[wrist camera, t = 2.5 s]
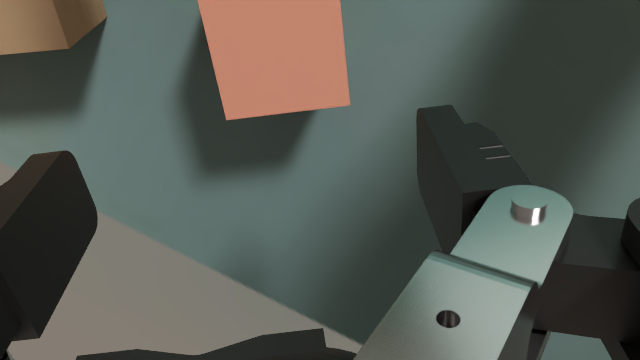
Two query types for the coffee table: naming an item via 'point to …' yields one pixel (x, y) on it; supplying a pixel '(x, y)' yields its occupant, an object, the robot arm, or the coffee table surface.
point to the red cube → (276, 55)
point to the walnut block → (46, 23)
